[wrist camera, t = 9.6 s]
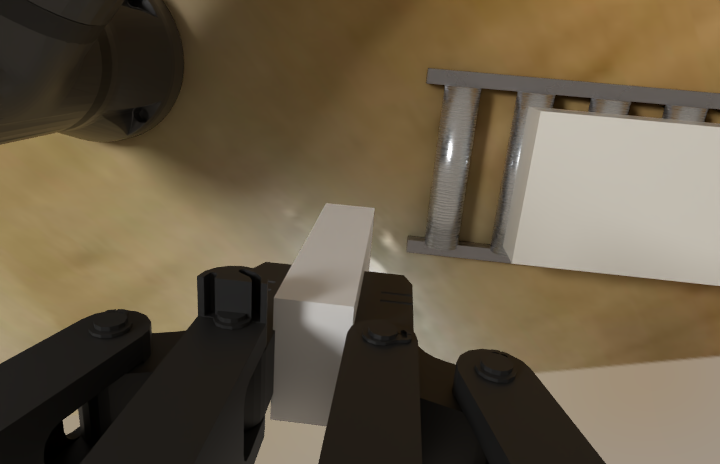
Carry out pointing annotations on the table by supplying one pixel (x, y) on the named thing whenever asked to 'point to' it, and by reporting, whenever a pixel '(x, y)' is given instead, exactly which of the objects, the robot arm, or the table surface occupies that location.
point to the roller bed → (514, 144)
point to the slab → (617, 196)
